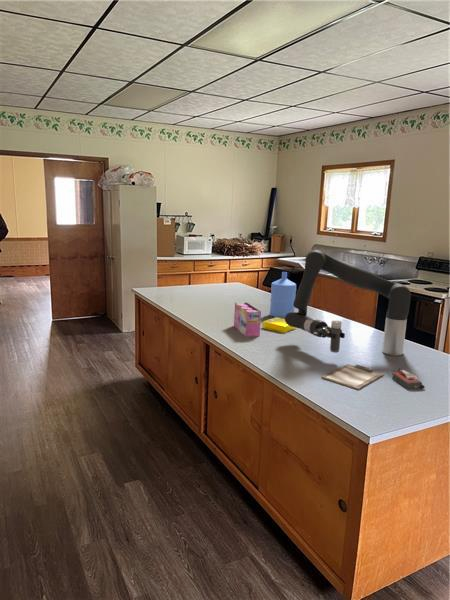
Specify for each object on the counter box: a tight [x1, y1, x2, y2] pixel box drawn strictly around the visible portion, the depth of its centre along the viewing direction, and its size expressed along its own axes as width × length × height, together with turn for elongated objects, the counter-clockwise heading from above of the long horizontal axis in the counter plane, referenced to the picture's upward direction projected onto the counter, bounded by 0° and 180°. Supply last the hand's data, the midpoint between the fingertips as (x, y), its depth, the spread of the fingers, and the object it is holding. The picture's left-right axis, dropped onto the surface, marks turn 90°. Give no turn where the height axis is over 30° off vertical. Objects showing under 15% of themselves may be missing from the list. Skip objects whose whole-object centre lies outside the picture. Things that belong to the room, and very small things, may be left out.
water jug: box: [269, 271, 297, 319], centre depth 275 cm, size 16×16×28 cm
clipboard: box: [320, 363, 385, 391], centre depth 177 cm, size 22×16×2 cm
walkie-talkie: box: [391, 367, 425, 390], centre depth 176 cm, size 9×4×20 cm
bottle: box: [329, 320, 342, 354], centre depth 192 cm, size 4×4×14 cm
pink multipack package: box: [233, 302, 262, 338], centre depth 240 cm, size 24×8×14 cm, turn 16°
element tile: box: [262, 317, 297, 334], centre depth 248 cm, size 15×15×5 cm
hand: (339, 336), depth 190 cm, fingers closed on bottle, 4 cm apart
